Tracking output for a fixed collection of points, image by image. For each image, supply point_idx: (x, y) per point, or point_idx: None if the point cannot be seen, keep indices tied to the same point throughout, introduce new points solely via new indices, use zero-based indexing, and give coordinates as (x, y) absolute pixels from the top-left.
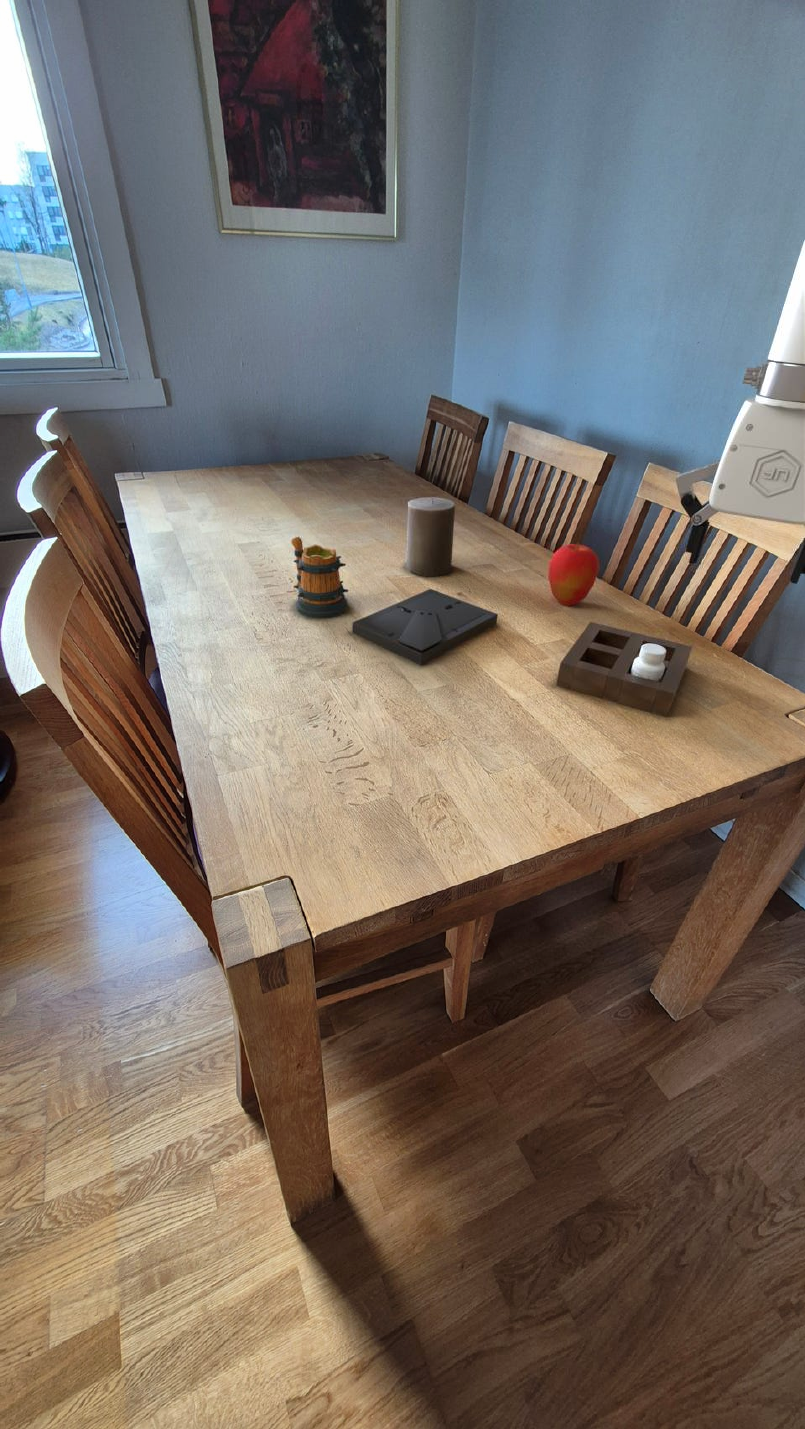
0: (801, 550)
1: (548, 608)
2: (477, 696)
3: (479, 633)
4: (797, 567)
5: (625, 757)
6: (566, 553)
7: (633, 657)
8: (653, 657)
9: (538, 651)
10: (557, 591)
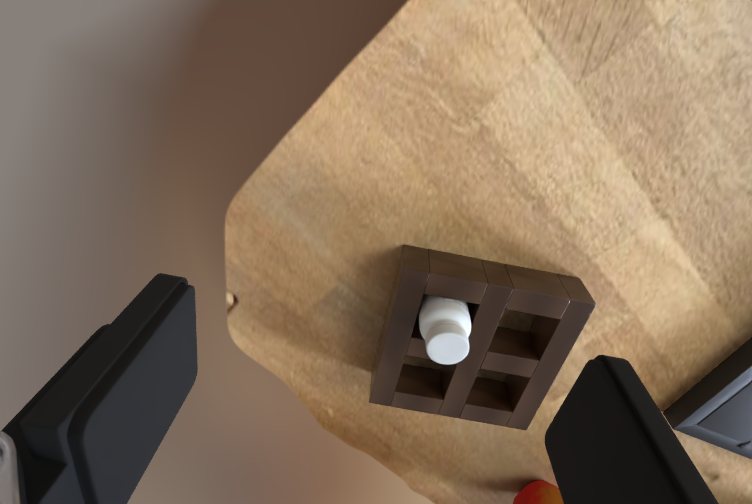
0: (106, 406)
1: None
2: (733, 205)
3: (698, 383)
4: (145, 322)
5: (478, 109)
6: None
7: None
8: (448, 328)
9: None
10: None
